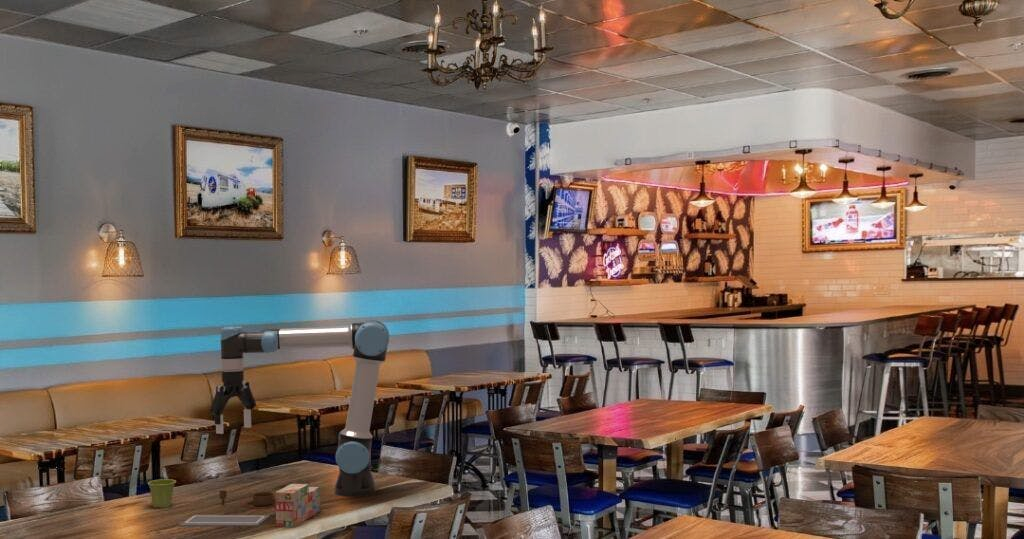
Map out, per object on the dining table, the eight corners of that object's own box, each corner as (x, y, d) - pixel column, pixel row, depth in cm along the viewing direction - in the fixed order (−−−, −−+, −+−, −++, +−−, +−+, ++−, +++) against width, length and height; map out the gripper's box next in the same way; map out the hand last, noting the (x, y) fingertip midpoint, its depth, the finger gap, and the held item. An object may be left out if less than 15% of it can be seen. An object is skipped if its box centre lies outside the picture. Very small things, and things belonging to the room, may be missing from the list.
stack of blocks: (303, 513, 334) (303, 477, 334) (320, 514, 333) (320, 478, 333) (275, 529, 313) (274, 491, 313) (293, 530, 312) (293, 492, 312)
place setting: (255, 515, 333) (255, 498, 333) (216, 508, 344) (215, 491, 344) (292, 505, 348) (292, 488, 348) (254, 498, 359) (253, 482, 359)
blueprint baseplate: (269, 518, 327) (269, 514, 327) (257, 528, 314) (257, 524, 314) (194, 517, 329) (194, 514, 329) (178, 527, 316) (178, 524, 316)
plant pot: (168, 501, 353) (168, 477, 353) (180, 506, 346) (180, 481, 346) (143, 506, 346) (143, 482, 346) (155, 510, 339) (154, 485, 339)
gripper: (249, 366, 357) (251, 424, 357) (198, 373, 335) (199, 435, 335) (265, 367, 353) (266, 425, 353) (214, 374, 331) (215, 436, 331)
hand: (234, 430), depth 344 cm, fingers open, 13 cm apart
